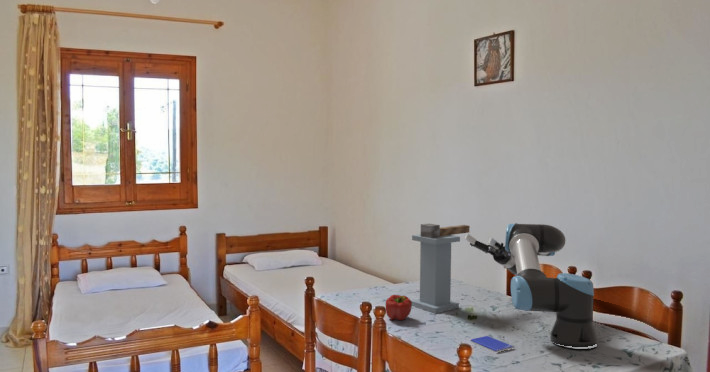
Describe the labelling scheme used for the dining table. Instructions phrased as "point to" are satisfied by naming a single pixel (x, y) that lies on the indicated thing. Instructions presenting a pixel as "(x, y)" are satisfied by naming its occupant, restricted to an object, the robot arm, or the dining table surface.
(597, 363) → the dining table surface
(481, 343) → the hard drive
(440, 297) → the stand
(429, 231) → the mallet
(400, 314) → the vegetable
